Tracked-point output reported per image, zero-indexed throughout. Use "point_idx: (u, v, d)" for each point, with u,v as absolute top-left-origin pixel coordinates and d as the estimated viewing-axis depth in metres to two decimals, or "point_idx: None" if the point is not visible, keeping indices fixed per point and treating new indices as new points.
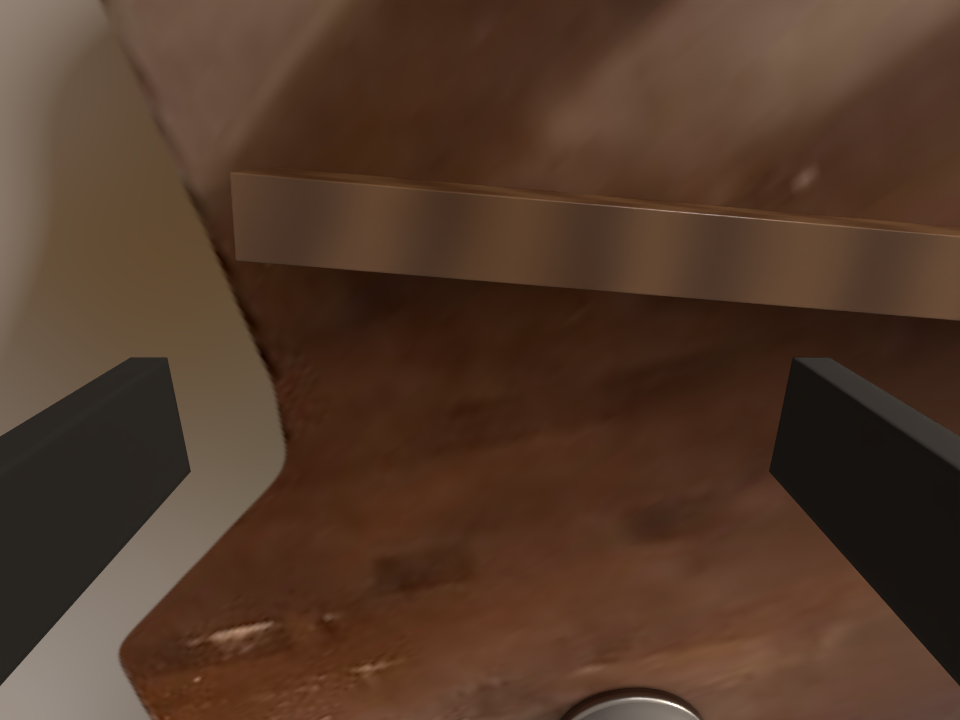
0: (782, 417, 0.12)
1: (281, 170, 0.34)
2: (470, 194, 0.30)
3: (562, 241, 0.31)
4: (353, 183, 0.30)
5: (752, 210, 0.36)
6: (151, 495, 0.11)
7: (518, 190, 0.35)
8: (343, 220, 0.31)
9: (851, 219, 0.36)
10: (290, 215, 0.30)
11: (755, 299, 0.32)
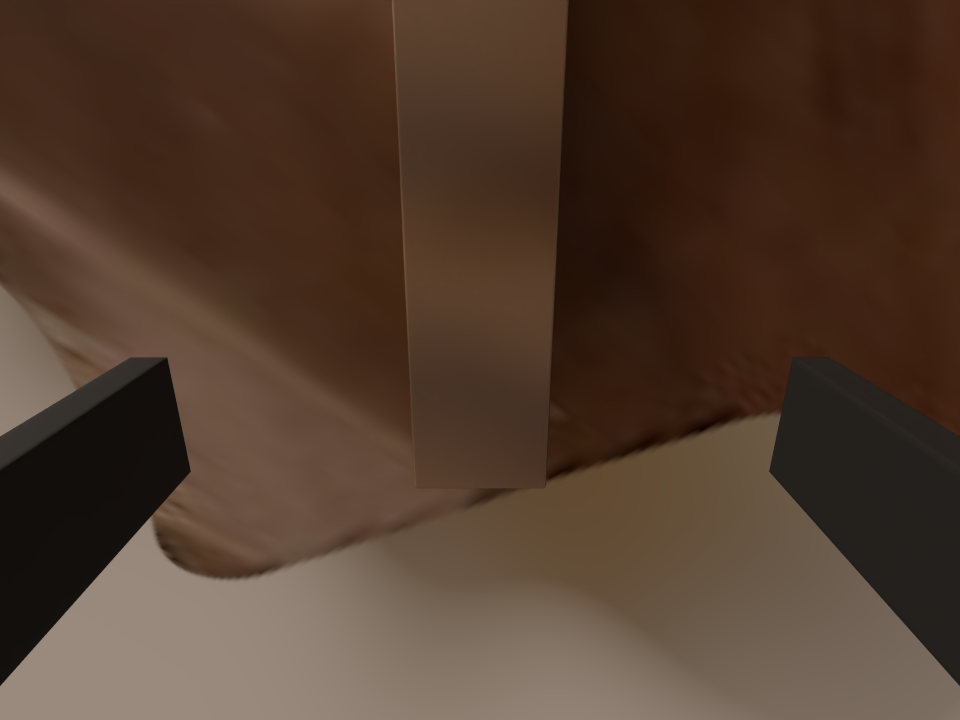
0: (782, 417, 0.12)
1: None
2: (398, 97, 0.16)
3: None
4: (407, 313, 0.18)
5: None
6: (150, 496, 0.11)
7: None
8: (468, 328, 0.18)
9: None
10: (469, 409, 0.19)
11: None
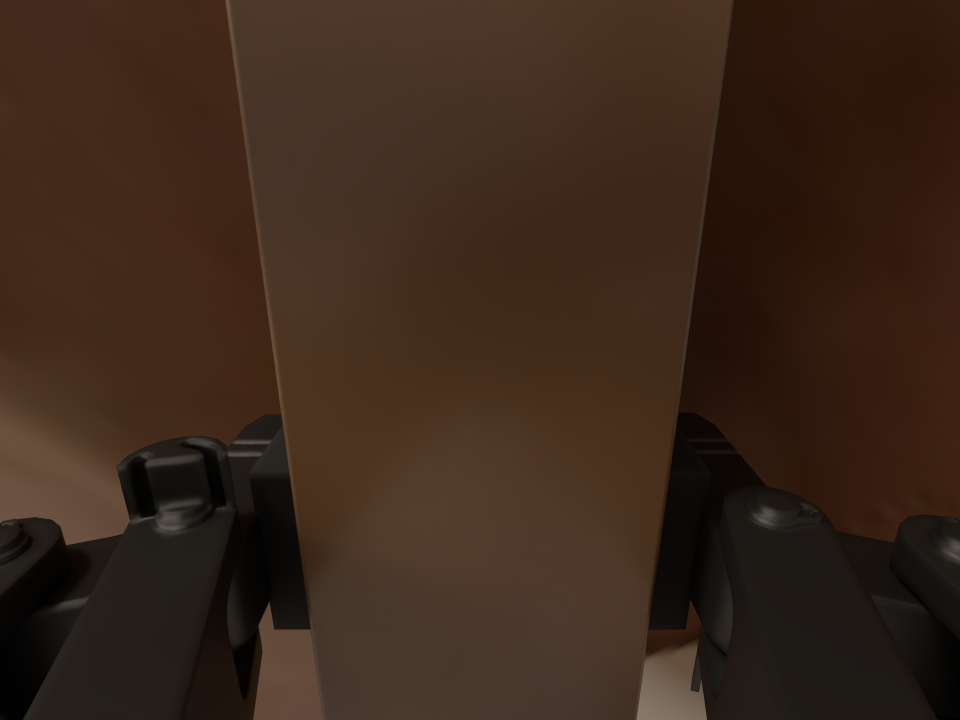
0: None
1: None
2: None
3: None
4: (303, 551, 0.07)
5: None
6: None
7: None
8: (451, 588, 0.07)
9: None
10: None
11: None
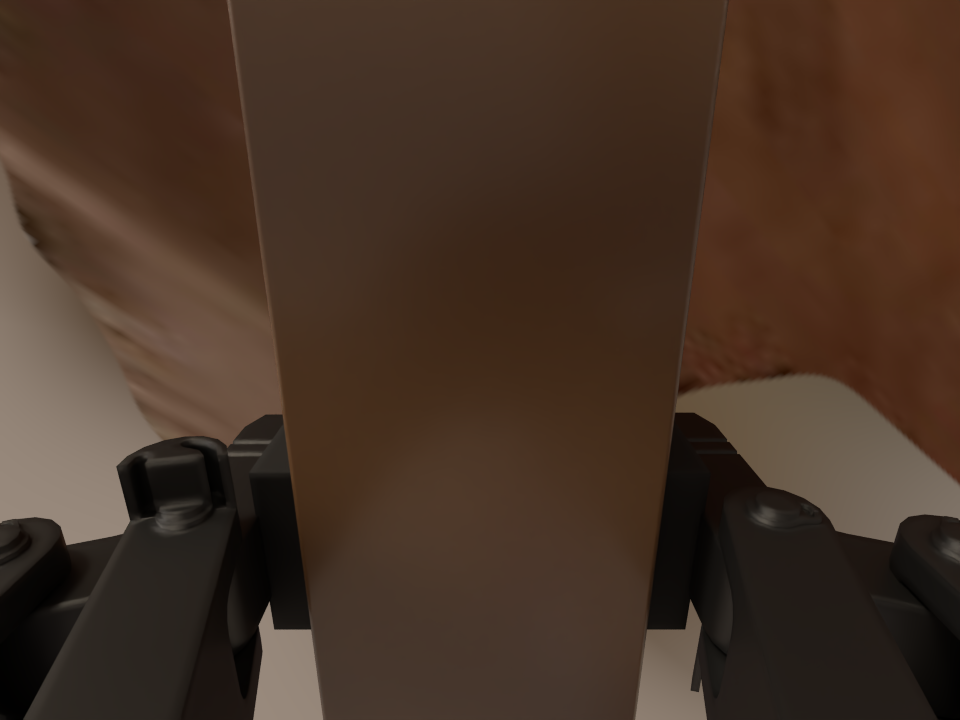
0: None
1: None
2: None
3: None
4: None
5: None
6: None
7: None
8: (451, 583, 0.08)
9: None
10: None
11: None
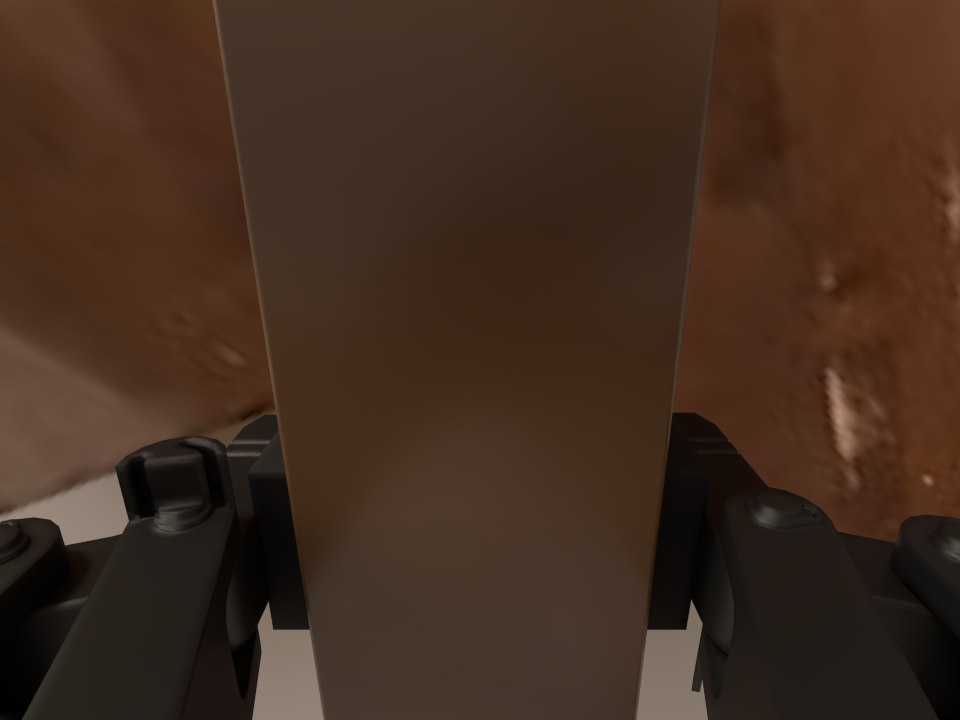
0: None
1: None
2: None
3: None
4: (301, 551, 0.07)
5: None
6: None
7: None
8: (449, 584, 0.07)
9: None
10: None
11: None
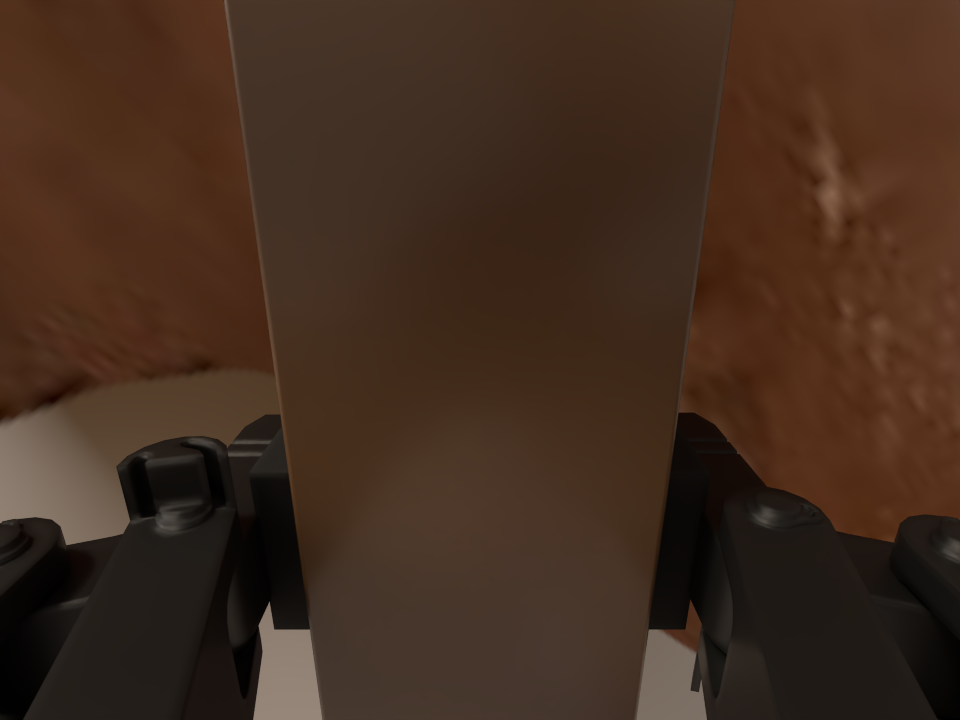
0: None
1: None
2: None
3: None
4: (303, 552, 0.07)
5: None
6: None
7: None
8: (451, 588, 0.07)
9: None
10: None
11: None
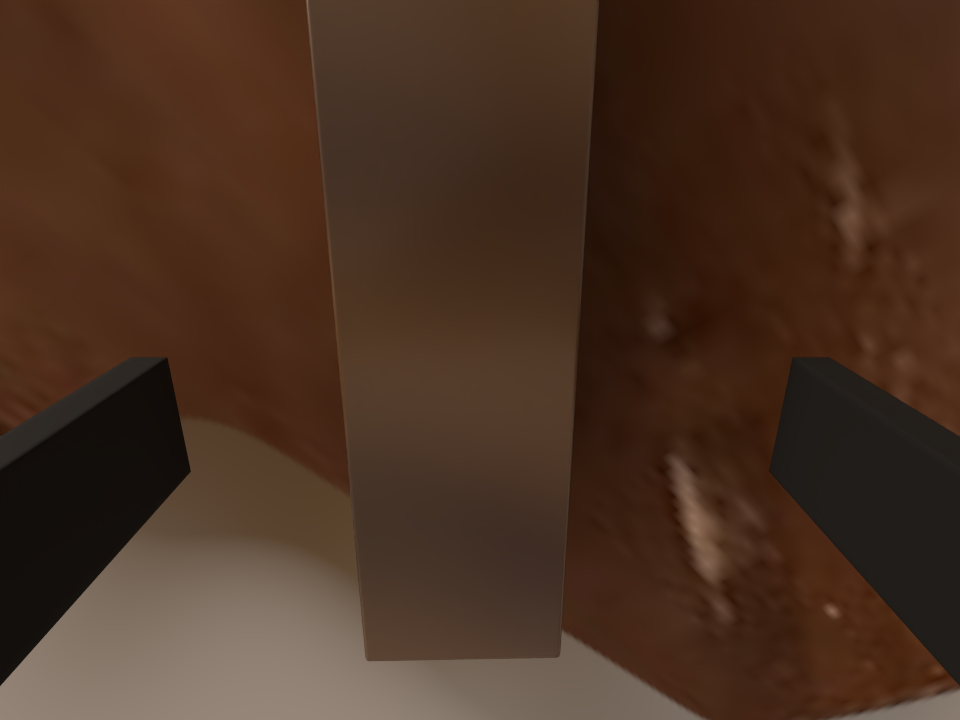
0: (782, 417, 0.12)
1: None
2: (315, 72, 0.09)
3: None
4: None
5: None
6: (150, 496, 0.11)
7: None
8: (441, 438, 0.12)
9: None
10: (445, 553, 0.13)
11: None
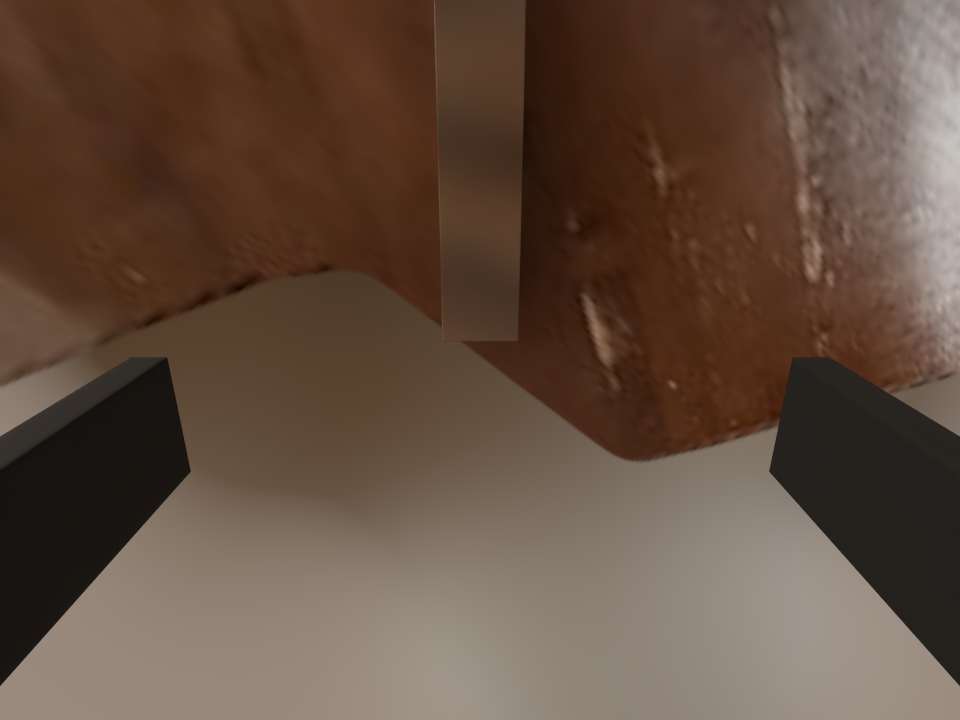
0: (782, 417, 0.12)
1: None
2: (438, 117, 0.30)
3: (475, 5, 0.29)
4: (440, 234, 0.33)
5: None
6: (150, 495, 0.11)
7: None
8: (473, 243, 0.33)
9: None
10: (474, 291, 0.34)
11: None
